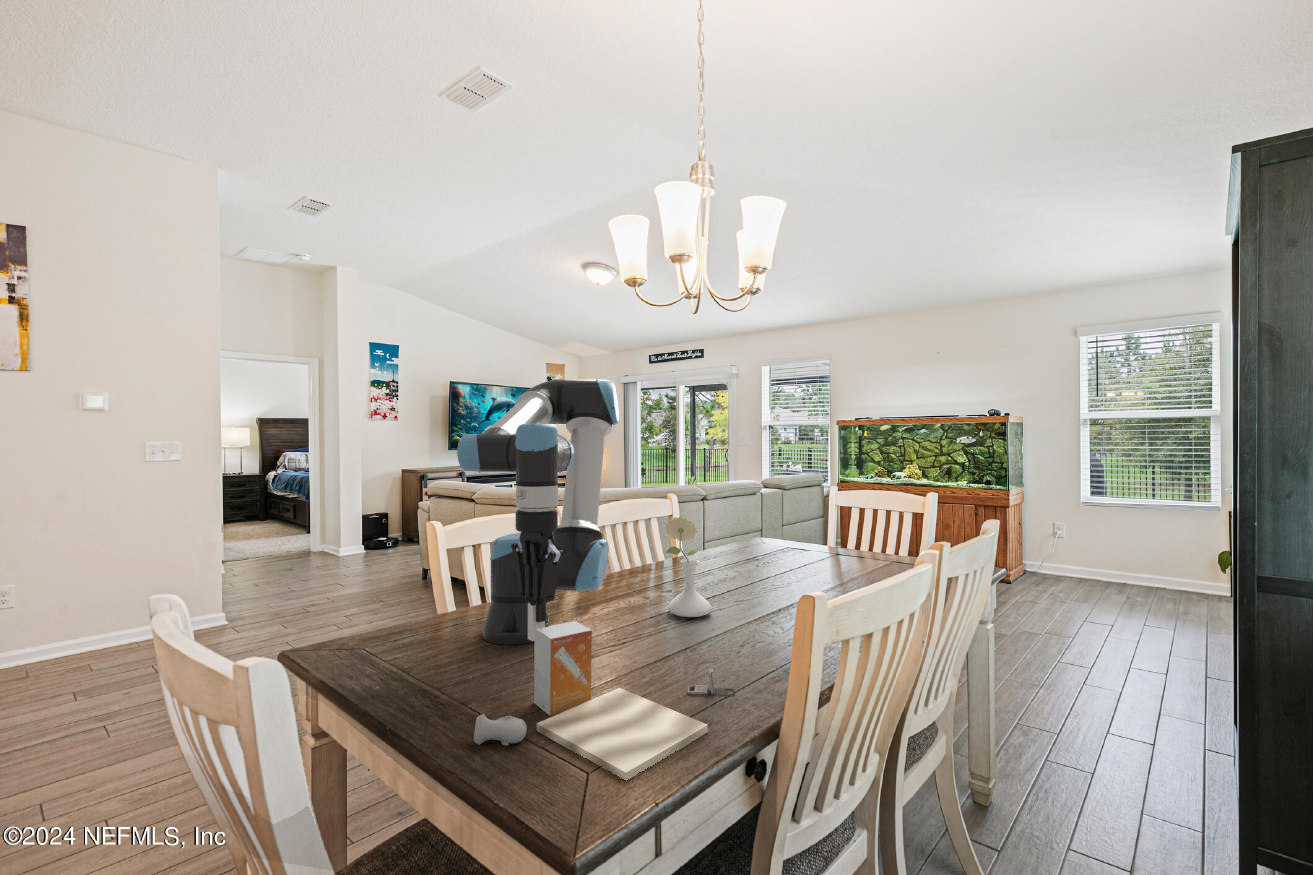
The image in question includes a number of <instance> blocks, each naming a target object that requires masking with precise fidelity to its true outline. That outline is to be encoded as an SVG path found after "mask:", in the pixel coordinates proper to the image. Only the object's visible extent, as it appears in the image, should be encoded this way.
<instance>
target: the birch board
mask: <svg viewBox="0 0 1313 875" xmlns="http://www.w3.org/2000/svg"><path fill="white" fill-rule="evenodd" d="M536 732H538V733H539V734H542V736H545V737H546V738H548V739H550V740H552V741H554V742H555V743H557V744H559V745H560V746H562V747H564V748H566V749H568V750H569V751H571V750H572V751H571V752H573V751H574V752H573V753H575V754H576V753H577V754H576V755H578V754H580V755H581V756H580V755H579V756H580V757H582V756H583V757H582V758H584V759H585V758H587V759H589V760H591V761H592V762H594V763H596V764H598V765H599V766H602V767H604V768H605V769H607V770H608V771H611V772H613V773H614V774H616V775H617V776H619V777H621V778H622V779H624V780H628V779H629V780H631V779H633V778H634V777H637V776H638V775H639V774H640V773H639V772H641V773H643V772H644V771H646V770H647V768H648V767H649V768H651V767H652V766H654V765H656V764H658V763H660V762H661V761H663V760H665V759H666V758H667V756H668V757H669V756H671V755H673V754H675V753H676V752H678V751H680V750H681V749H683V748H685V747H686V746H688V745H689V744H691V743H693V742H694V741H696V740H698V739H699V738H701V737H703V736H705V735H706V734H707V733H709V724H706V723H704V722H702V721H700V720H698V719H695V718H692V717H690V716H688V715H685V714H683V713H680V712H678V711H676V710H673V709H671V708H668V707H666V706H664V705H661V704H659V703H657V702H655V701H652V700H650V699H647V698H644V697H643V696H640V695H638V694H636V693H633V692H631V691H628V690H626V689H623V688H621V687H617V688H616V689H613V690H610V691H608V692H606V693H604V694H601V695H598V696H596V697H595V698H591V700H590V701H587V702H585V703H583V704H580V705H578V706H576V707H573V708H571V709H569V710H566V711H564V712H560V713H557V714H554V715H552V716H550V717H548V718H545V719H544V720H541V721H539V722H537V723H536ZM692 741H693V742H692ZM675 751H676V752H675ZM670 754H671V755H670ZM587 759H586V760H587ZM662 759H663V760H662ZM589 760H588V761H589ZM591 761H590V762H591ZM592 762H591V763H592ZM657 762H658V763H657ZM594 763H593V764H594ZM655 763H656V764H655ZM596 764H595V765H596ZM598 765H597V766H598ZM599 766H598V767H599ZM650 766H651V767H650ZM649 768H648V769H649ZM605 769H604V770H605ZM645 769H646V770H645ZM607 770H606V771H607ZM608 771H607V772H608ZM642 771H643V772H642ZM638 773H639V774H638ZM614 774H613V775H614ZM637 774H638V775H637ZM617 776H616V777H617ZM633 776H634V777H633ZM619 777H618V778H619ZM632 777H633V778H632ZM621 778H620V779H621ZM630 778H631V779H630ZM622 779H621V780H622ZM624 780H623V781H624ZM629 780H628V781H629Z"/></svg>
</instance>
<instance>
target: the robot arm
mask: <svg viewBox="0 0 1313 875" xmlns="http://www.w3.org/2000/svg"><path fill="white" fill-rule="evenodd" d="M619 410H620V409H619V400H618V395H617V389H616V386H615V384H614V382H613V381H612V380H609V379H598V378H595V379H561V378H560V379H559V378H558V379H551V380H548V381H544V382H541V383H540V384H537V385H534V386H532V387H531V388H529V389H527V390H525V391H524V392H523V393H521V394H520V395H519V396H518V397H517V398H516V401H515V403H514V406H513V407H511V408H510V409H509V410H508V411H507V412H506V413H505V414H504V415H502V416H501V417H500V418H499V419H498V420H497V421H495V423H493V424H492V425H491V426H490V427H489V428H488V429H486V430H485V431H484V432H483V433H470V434H469V433H468V434H464V435H462V436H461V438H460V439H459V441H458V444H457V450H456V456H457V462H458V464H459V466H460V468H461V469H462V470H463V471H465V472H477V473H515V507H517V510H516V511H515V530H516V531H517V532H516V533H510V534H506V535H502V536H499V537H497V538H496V539H494V540H493V541H492V543H491V547H490V549H491V550H490V557H489V560H490V603H489V606H488V609H487V613H486V616H485V620H484V622H483V626H482V637H483V639H484V641H487V642H489V643H492V644H498V645H509V646H510V645H511V646H512V645H521V644H529V643H533V642H534V643H535V629H539V628H544V627H548V626H551V625H550V623H551V622H550V620H549V616H548V613H547V604H548V603H549V602H552V601H555V597H556V591H566V592H577V593H581V592H593V591H596V590H598V589H599V588H600V587H601V586H602V584H603V581H604V579H605V576H606V573H607V572H606V571H607V568H608V562H609V551H610V550H609V549H610V548H609V547H610V546H609V542H608V541H607V540H606V539H604V538H603V537H604V533H603V532H602V531H601V529H600V528H599V527H598V521H599V519H598V518H599V510H600V509H599V507H600V498H601V487H602V486H601V485H602V475H603V473H602V472H603V465H604V464H603V463H604V451H605V441H606V440H605V439H606V437H607V436H608V435H610V434H611V433H612V430H613V429H612V428H613V425H614V426H615V425H618V424H619V422H620V411H619ZM557 425H565V428H566V430H567V431H568V432H569V433H570V440H569V439H568V438H567V437H566V436H563V435H562V434H559V433H558V432H559V431H558V430H559V429H558V426H557ZM565 469H566V474H565V476H566V477H565V486H564V491H563V492H564V493H563V502H562V512H561V518H560V519H561V520H560V524H559V525H558V523H559V520H558V519H559V518H558V517H559V515H558V514H559V513H558V510H557V509H556V508H557V507H558V506H559V484H558V481H559V480H558V477H559V475H558V474H559V473H560V472H563V471H564V470H565Z"/></svg>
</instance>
